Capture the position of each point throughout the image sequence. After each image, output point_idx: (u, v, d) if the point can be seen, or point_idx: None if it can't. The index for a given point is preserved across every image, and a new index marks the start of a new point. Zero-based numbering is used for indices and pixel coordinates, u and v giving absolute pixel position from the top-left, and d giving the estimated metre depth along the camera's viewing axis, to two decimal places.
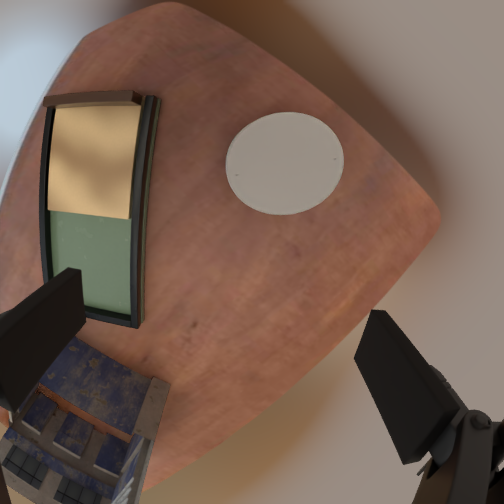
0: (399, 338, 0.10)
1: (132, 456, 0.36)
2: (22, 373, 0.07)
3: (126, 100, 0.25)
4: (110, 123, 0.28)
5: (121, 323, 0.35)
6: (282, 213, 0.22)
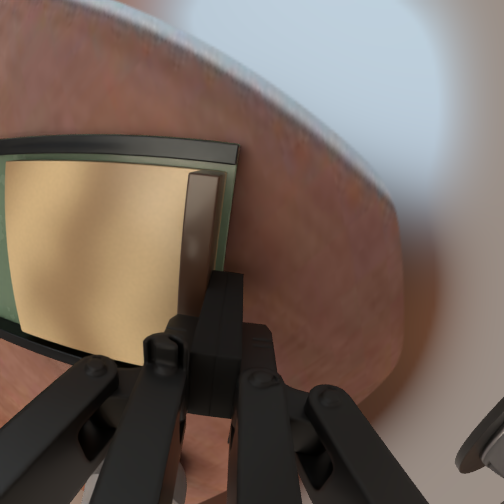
0: (231, 294, 0.12)
1: None
2: None
3: None
4: (151, 322, 0.16)
5: None
6: None
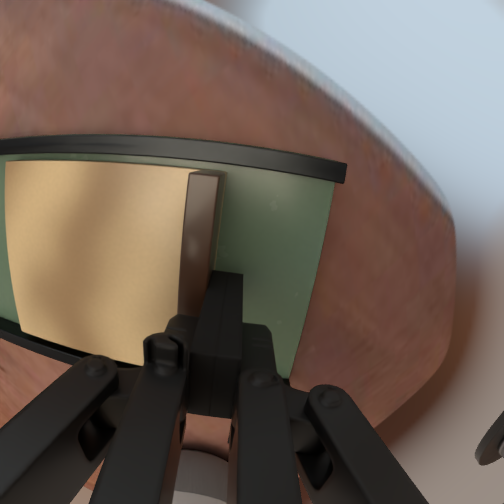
0: (231, 294, 0.12)
1: None
2: None
3: None
4: (151, 322, 0.16)
5: None
6: None
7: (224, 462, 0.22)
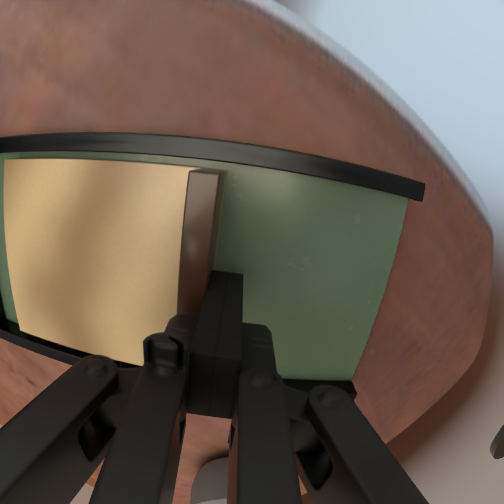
0: (231, 294, 0.12)
1: None
2: None
3: None
4: (150, 322, 0.16)
5: None
6: None
7: None
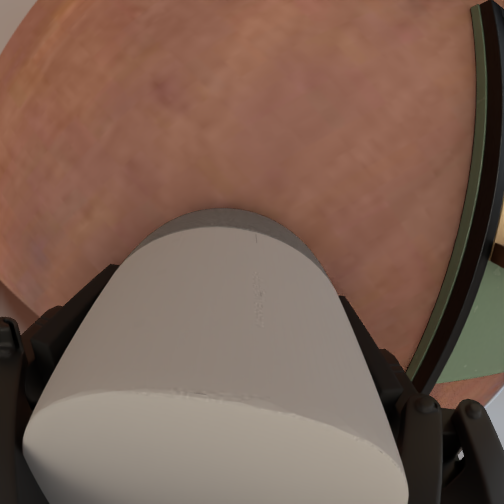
0: (351, 321, 0.11)
1: None
2: None
3: None
4: None
5: None
6: (177, 402, 0.03)
7: None
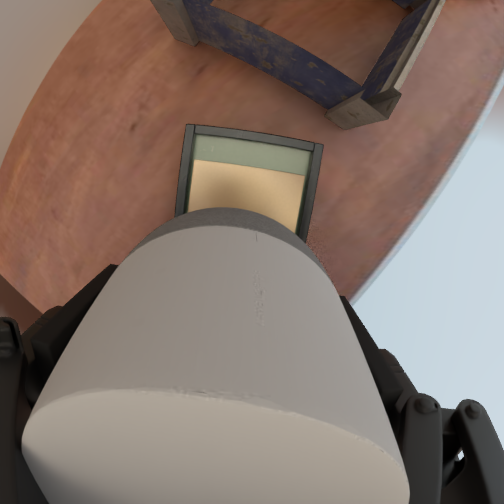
0: (351, 321, 0.11)
1: None
2: None
3: None
4: None
5: (207, 129, 0.29)
6: (177, 401, 0.03)
7: None
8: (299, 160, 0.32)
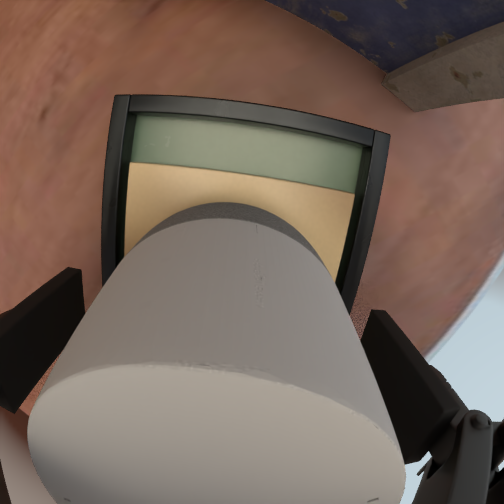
0: (399, 338, 0.10)
1: None
2: (22, 373, 0.07)
3: None
4: None
5: (153, 101, 0.13)
6: (182, 374, 0.04)
7: None
8: (341, 164, 0.16)
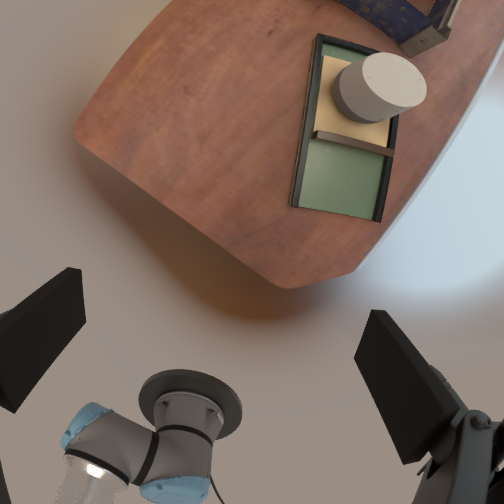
0: (399, 338, 0.10)
1: None
2: (22, 373, 0.07)
3: (322, 131, 0.37)
4: (337, 123, 0.40)
5: (332, 38, 0.35)
6: (390, 54, 0.26)
7: None
8: None
